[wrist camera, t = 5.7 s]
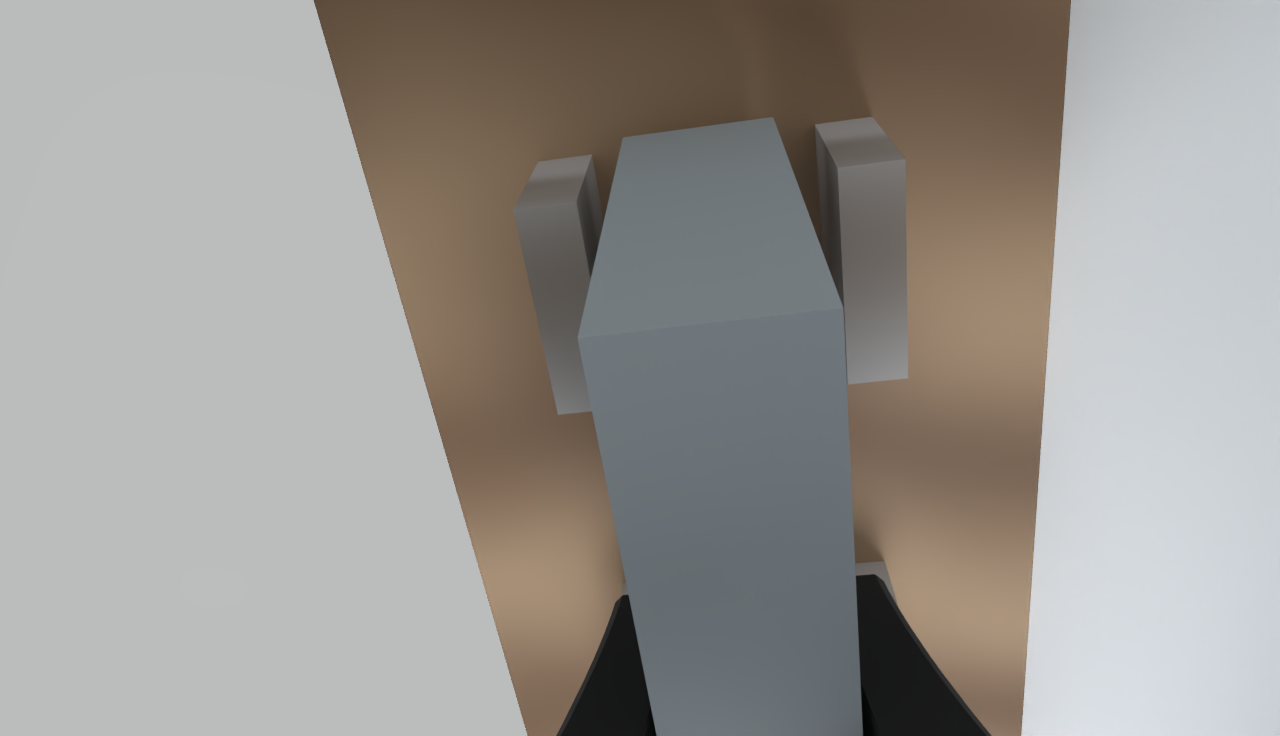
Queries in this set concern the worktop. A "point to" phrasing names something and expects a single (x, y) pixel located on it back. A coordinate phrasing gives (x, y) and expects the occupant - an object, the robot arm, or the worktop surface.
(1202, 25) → the worktop surface
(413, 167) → the hinge board
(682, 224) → the door panel
